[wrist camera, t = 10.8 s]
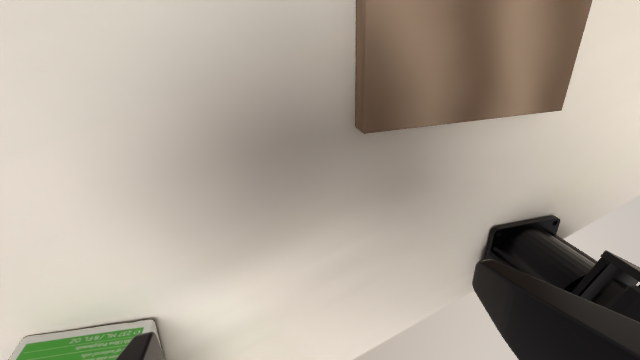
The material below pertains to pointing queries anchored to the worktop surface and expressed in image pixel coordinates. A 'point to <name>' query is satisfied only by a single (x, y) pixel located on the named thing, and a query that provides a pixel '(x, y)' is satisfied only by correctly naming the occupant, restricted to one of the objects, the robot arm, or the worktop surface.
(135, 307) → the worktop surface
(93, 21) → the worktop surface
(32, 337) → the skincare box
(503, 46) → the post board
